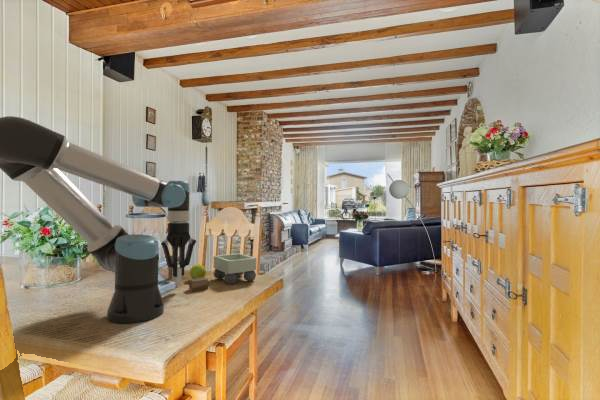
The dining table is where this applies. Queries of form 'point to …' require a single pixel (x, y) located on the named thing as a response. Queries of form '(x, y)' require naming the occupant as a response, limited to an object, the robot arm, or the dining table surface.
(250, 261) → the trolley
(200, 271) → the tennis ball
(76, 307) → the dining table surface
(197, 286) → the chock
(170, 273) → the mechanical component
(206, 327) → the dining table surface
